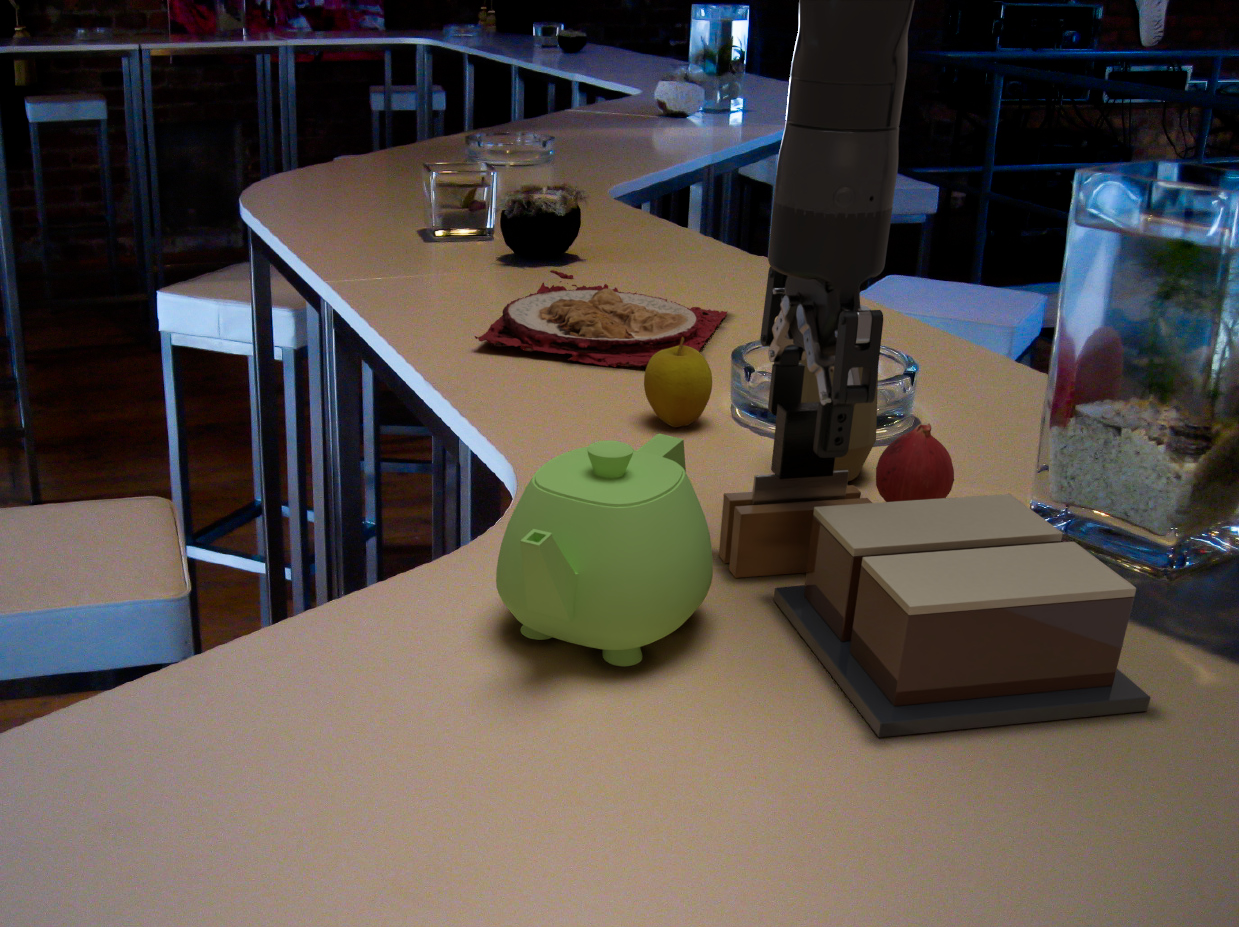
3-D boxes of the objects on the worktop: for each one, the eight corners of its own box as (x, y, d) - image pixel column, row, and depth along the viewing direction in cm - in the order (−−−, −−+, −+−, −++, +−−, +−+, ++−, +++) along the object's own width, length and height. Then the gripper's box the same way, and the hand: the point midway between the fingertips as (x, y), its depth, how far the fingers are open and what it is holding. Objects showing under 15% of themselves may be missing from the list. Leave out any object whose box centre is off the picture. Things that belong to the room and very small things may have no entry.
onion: (870, 528, 98) (883, 431, 95) (869, 500, 103) (882, 407, 100) (948, 536, 97) (964, 438, 93) (944, 507, 102) (959, 413, 98)
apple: (688, 408, 123) (694, 328, 120) (721, 429, 118) (728, 346, 114) (629, 416, 121) (633, 335, 118) (660, 438, 116) (665, 353, 112)
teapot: (620, 725, 73) (630, 527, 68) (431, 661, 79) (427, 475, 74) (754, 591, 88) (771, 421, 83) (587, 546, 95) (592, 385, 89)
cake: (1000, 582, 90) (1019, 483, 87) (1147, 711, 75) (1177, 597, 72) (773, 600, 87) (783, 498, 84) (878, 738, 72) (896, 621, 69)
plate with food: (472, 354, 140) (472, 324, 138) (542, 293, 161) (543, 267, 160) (684, 380, 133) (686, 348, 131) (727, 313, 155) (730, 285, 153)
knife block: (845, 545, 95) (853, 484, 93) (866, 568, 92) (875, 505, 90) (718, 555, 94) (723, 493, 91) (735, 578, 90) (741, 514, 88)
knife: (832, 553, 94) (851, 399, 89) (841, 563, 92) (862, 408, 87) (742, 559, 93) (756, 404, 88) (750, 570, 91) (765, 413, 86)
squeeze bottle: (768, 454, 112) (789, 251, 105) (860, 456, 112) (887, 253, 104) (782, 489, 105) (805, 274, 97) (880, 492, 105) (911, 276, 97)
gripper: (939, 217, 76) (900, 469, 83) (843, 178, 88) (816, 398, 95) (821, 220, 74) (792, 475, 81) (740, 179, 87) (721, 403, 94)
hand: (805, 433), depth 88 cm, fingers open, 8 cm apart
